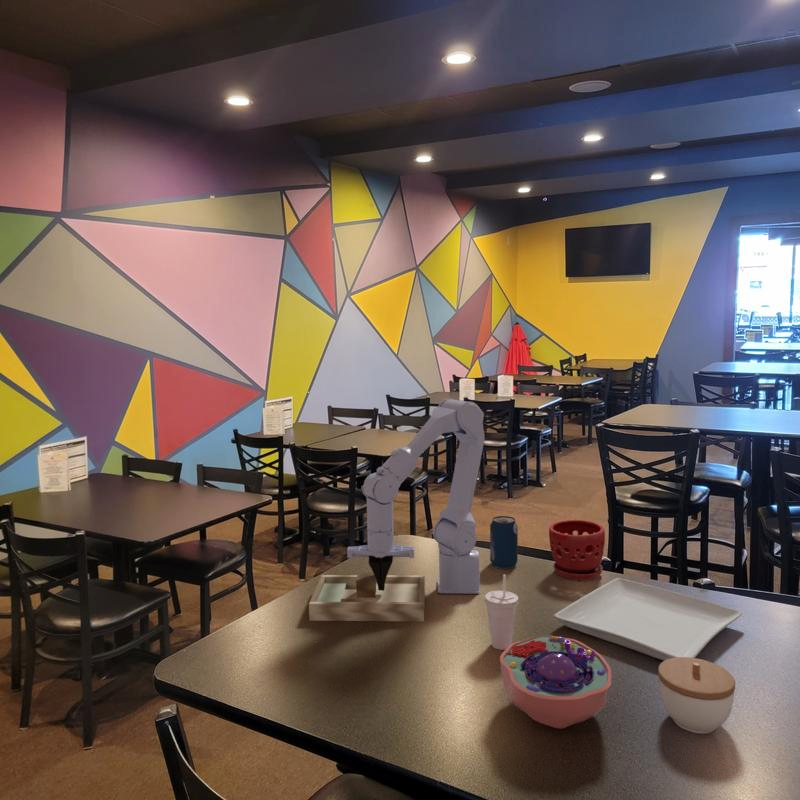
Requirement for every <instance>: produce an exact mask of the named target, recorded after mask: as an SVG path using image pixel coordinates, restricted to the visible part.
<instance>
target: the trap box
mask: <svg viewBox="0 0 800 800" xmlns="http://www.w3.org/2000/svg"><path fill="white" fill-rule="evenodd" d="M356 578H357V574H321V575H320V577H319V580H318V582H317V584H316V587H315V589H314V591H313V594H312V595H311V598H310V601H309V603H308V615H309V618H308V619H309V620H308V621H311V622H312V621H313V622H314V621H316V622H318V621H319V622H320V621H324V622H330V621H331V622H332V621H333V622H335V621H336V622H425V600H426V599H425V595H426V594H425V593H426V591H425V590H426V583H425V582H426V579H425V578H426V577H425V575H424V574H423V575H422V574H421V575H419V574H418V575H414V574H413V575H411V574H410V575H406V574H404V575H403V574H402V575H398V574H394V575H393V574H391V575H390V574H389V575H388V574H387V577H386V580H385V588H384V591H381V590H378V585H377V581H376V595H375V598H357V593H356Z"/></svg>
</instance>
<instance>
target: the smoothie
mask: <svg viewBox="0 0 800 800" xmlns="http://www.w3.org/2000/svg"><path fill="white" fill-rule="evenodd" d="M484 603H485V604H486V609H487V618H488V625H489V633H490V634H489V635H490V641H491V646H492V648H494V649H495V650H501V651H505V650H506V649H507V647H508V646H509V645H510V644H512V642H513V635H514V628H515V620H516V612H517V606H518V605H519V596H518V595H517V594H516V593H514V592H511V591H509V590H508V591H507V574H505V573H504V574H502V590H501V589H500V590H492V591H489V592H487V593H486V594H485V595H484Z"/></svg>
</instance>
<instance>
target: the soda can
mask: <svg viewBox="0 0 800 800" xmlns="http://www.w3.org/2000/svg"><path fill="white" fill-rule="evenodd" d="M518 527H519V526H518V524H517V522H516V518H514V517H512V516H506V515H500V516H494V517H493V518H492V521H491V523H490V525H489V531H490V532H489V560H490V563H491V564H492V565H493V567H494V568H496V569H503V570H509V569H513V568H515V566H516V565H517V564H518V560H519V559H518V557H519V556H518V553H519V552H518V551H519V550H518V549H519V546H518V544H519V543H518V542H519V541H518V539H519V538H518V537H519V535H518V533H519V530H518Z"/></svg>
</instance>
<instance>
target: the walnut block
mask: <svg viewBox="0 0 800 800" xmlns="http://www.w3.org/2000/svg"><path fill="white" fill-rule="evenodd" d="M356 575H357V578H356V593H357V598H375V595H376V578H375V575H374V573H373V572H362V573H361V572H360V573H359V572H358V573H357V574H356Z"/></svg>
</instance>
